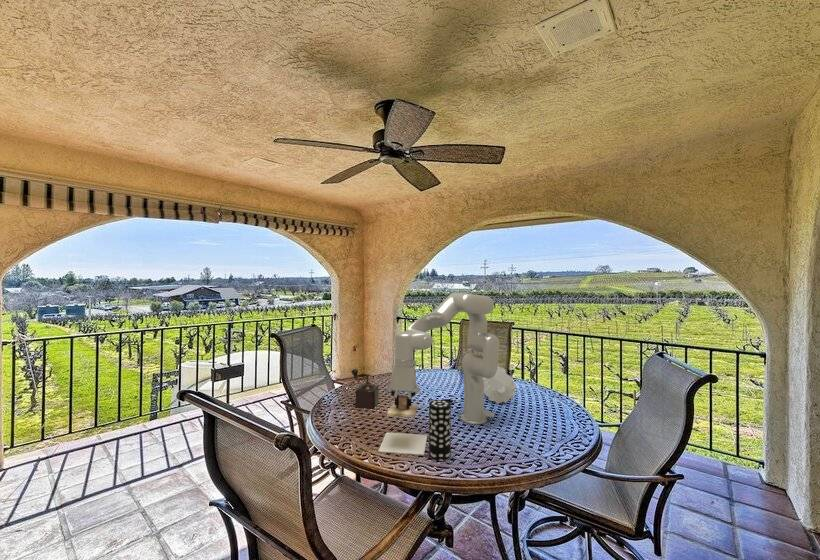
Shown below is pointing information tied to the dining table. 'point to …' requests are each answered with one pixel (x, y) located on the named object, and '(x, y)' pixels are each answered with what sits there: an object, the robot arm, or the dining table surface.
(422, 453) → the white flat block
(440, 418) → the spotted tube
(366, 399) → the pepper mill
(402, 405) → the wooden lid
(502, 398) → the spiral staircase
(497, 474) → the dining table surface
